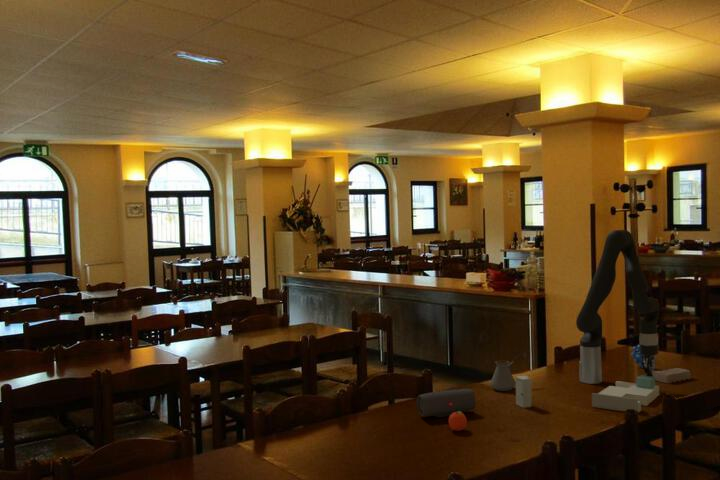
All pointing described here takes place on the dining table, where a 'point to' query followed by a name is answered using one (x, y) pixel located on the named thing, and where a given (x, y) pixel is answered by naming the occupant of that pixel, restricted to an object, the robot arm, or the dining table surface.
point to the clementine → (457, 421)
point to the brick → (672, 375)
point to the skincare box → (523, 391)
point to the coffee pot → (503, 375)
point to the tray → (624, 397)
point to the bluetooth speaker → (445, 402)
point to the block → (645, 381)
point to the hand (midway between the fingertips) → (650, 382)
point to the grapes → (638, 356)
